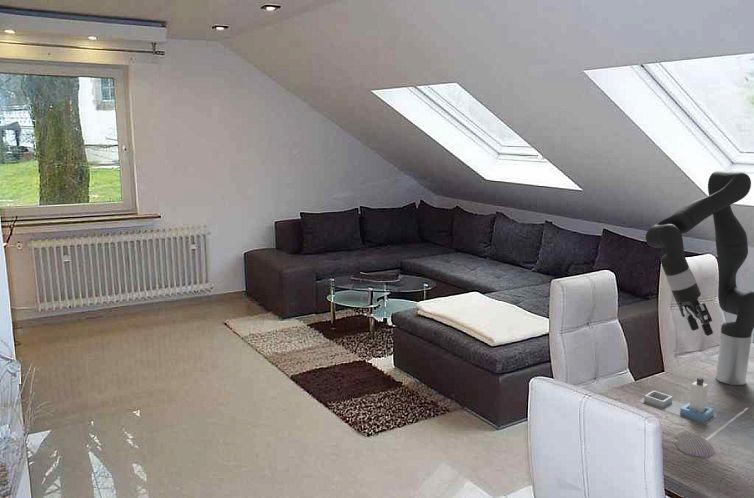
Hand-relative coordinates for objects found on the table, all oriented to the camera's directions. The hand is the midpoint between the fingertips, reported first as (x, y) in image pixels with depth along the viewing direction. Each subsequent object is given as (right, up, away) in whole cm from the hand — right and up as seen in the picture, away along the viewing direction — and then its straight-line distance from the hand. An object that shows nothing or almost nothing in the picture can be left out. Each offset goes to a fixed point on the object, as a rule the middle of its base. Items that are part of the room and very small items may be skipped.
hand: (702, 332), depth 193 cm
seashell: (-13, -30, -20) cm, 39 cm away
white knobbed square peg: (-3, -25, -3) cm, 25 cm away
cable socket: (-7, -25, +2) cm, 26 cm away
